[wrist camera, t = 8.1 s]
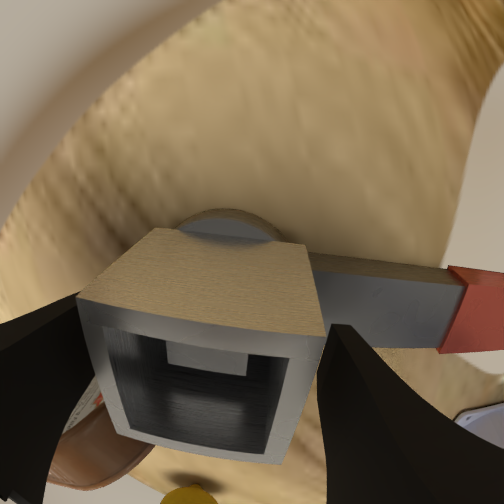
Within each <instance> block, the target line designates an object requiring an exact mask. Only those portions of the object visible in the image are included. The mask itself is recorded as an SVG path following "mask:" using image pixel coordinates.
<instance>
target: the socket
mask: <svg viewBox="0 0 504 504" xmlns="http://www.w3.org/2000/svg"><path fill="white" fill-rule="evenodd" d="M76 302H77V307H78V312H79V316H80V320H81V325H82V329H83V333H84V337H85V341H86V344H87V348H88V352H89V355H90V359H91V362H92V365H93V369H94V372H95V375H96V378H97V381H98V384H99V387H100V390H101V393H102V396H103V399H104V401H105V404H106V407H107V410H108V412H109V415H110V417H111V420H112V422H113V425H114V427H115V430H116V432H117V434H120V435H123V436H127V437H130V438H133V439H136V440H140V441H143V442H147V443H151V444H154V445H158V446H162V447H166V448H170V449H174V450H179V451H184V452H188V453H193V454H198V455H204V456H209V457H215V458H222V459H229V460H236V461H245V462H254V463H265V464H279V465H281V464H282V461H283V459H284V457H285V454H286V452H287V449H288V447H289V444H290V442H291V439H292V437H293V434H294V432H295V429H296V426H297V424H298V421H299V418H300V416H301V413H302V410H303V407H304V405H305V402H306V399H307V396H308V393H309V390H310V387H311V385H312V382H313V379H314V375H315V372H316V369H317V366H318V363H319V360H320V357H321V354H322V350H323V347H324V344H325V340H326V332H325V327H324V323H323V318H322V313H321V309H320V304H319V300H318V296H317V291H316V287H315V282H314V278H313V274H312V270H311V266H310V261H309V257H308V253H307V249H306V245H302V244H294V243H286V242H278V241H270V240H262V239H253V238H245V237H237V236H228V235H220V234H211V233H202V232H194V231H185V230H176V229H167V228H158V227H155V228H154V229H153V230H152V231H151V232H149V233H148V234H147V235H146V236H144V237H143V238H142V239H141V240H140V241H138V242H137V243H136V244H135V245H134V246H132V247H131V248H130V249H129V250H128V251H126V252H125V253H124V254H123V255H122V256H121V257H119V258H118V259H117V260H116V261H115V262H114V263H113V264H111V265H110V266H109V267H108V268H107V269H106V270H105V271H103V272H102V273H101V274H100V275H99V276H98V277H97V278H96V279H94V280H93V281H92V282H91V283H90V284H89V285H88V286H87V287H86V288H85V289H83V290H82V291H81V292H80V293H79V294H78V295H77V296H76ZM166 340H168V341H173V342H179V343H184V344H190V345H195V346H201V347H207V348H214V349H220V350H227V351H234V352H242V353H249V355H248V363H247V370H246V376H242V375H234V374H227V373H220V372H213V371H207V370H201V369H195V368H190V367H184V366H179V365H174V364H169V363H168V358H167V347H166Z"/></svg>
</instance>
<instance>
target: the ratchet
mask: <svg viewBox="0 0 504 504" xmlns="http://www.w3.org/2000/svg"><path fill="white" fill-rule="evenodd" d="M175 229H176V230H185V231H194V232H202V233H211V234H220V235H228V236H237V237H245V238H253V239H262V240H270V241H278V242H286V243H288V241H287V240H286V238H285V237H284V236H283V235H282V234H281V233H280V232H279V231H278V229H276V228H275V227H274V226H273V225H271V224H270V223H269V222H267V221H266V220H264V219H262V218H261V217H258V216H256V215H254V214H252V213H248V212H245V211H242V210H236V209H212V210H208V211H204V212H201V213H198V214H196V215H193V216H192V217H190V218H188V219H186V220H185V221H184V222H182V223H181V224H180V225H179V226H177V227H176V228H175ZM307 253H308V257H309V261H310V266H311V270H312V274H313V278H314V282H315V287H316V291H317V296H318V300H319V304H320V309H321V313H322V318H323V323H324V327H325V332H326V340H327V337H328V333H329V330H330V326H331V323H333V324H346V325H351V326H352V327H353V328H354V329H355V330H356V331H357V332H358V333H359V334H360V335H361V336H362V338H363V339H364V340H365V341H366V342H367V343H368V344H369V345H370V346H371V347H379V348H436V349H437V351H438V353H439V354H447V353H467V352H482V351H494V350H504V273H500V272H494V271H487V270H480V269H473V268H466V267H458V266H451V265H448V267H447V269H443V268H441V269H439V268H431V267H424V266H416V265H408V264H400V263H392V262H384V261H376V260H368V259H360V258H352V257H343V256H335V255H327V254H319V253H310V252H307ZM326 340H325V344H326ZM325 344H324V345H325ZM166 347H167V358H168V363H169V364H174V365H179V366H184V367H190V368H195V369H201V370H207V371H213V372H220V373H227V374H234V375H242V376H246V370H247V363H248V355H249V353H242V352H234V351H227V350H220V349H214V348H207V347H201V346H195V345H190V344H184V343H179V342H173V341H168V340H166Z"/></svg>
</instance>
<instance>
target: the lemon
mask: <svg viewBox="0 0 504 504" xmlns="http://www.w3.org/2000/svg"><path fill="white" fill-rule="evenodd" d="M160 504H218V503H217V501H216V500H215V499H214V498H213V497H212V496H211V495H210V494H209V493H207V492H205V491H204V490H203V489H202V488H201V487H200V485H197V484H193V485H191V486H189V487H182V488H177V489H175V490H173V491H171V492H169V493H168V494H167V495H166V496H165V497H164V498H163V500H162V501H161V503H160Z"/></svg>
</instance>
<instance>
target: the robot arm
mask: <svg viewBox="0 0 504 504" xmlns="http://www.w3.org/2000/svg"><path fill="white" fill-rule="evenodd" d="M80 292H81V291H80ZM80 292H77V293H75V294H72V295H70V296H67V297H65V298H63V299H60V300H58V301H56V302H53V303H51V304H49V305H47V306H44V307H42V308H40V309H37V310H35V311H33V312H30V313H28V314H25V315H23V316H20V317H18V318H15V319H13V320H10V321H8V322H5V323H2V324H0V498H1V499H2V500H3V501H7V499H8V498H10V499H11V500H12V501H14V502H15V503H17V504H42V503H43V497H44V491H45V486H46V481H47V478H48V474H49V470H50V466H51V463H52V460H53V457H54V454H55V451H56V448H57V445H58V442H59V440H60V437H61V435H62V433H63V430H64V428H65V426H66V423H67V421H68V419H69V417H70V415H71V413H72V412H73V410H74V408H75V407H76V405H77V403H78V402H79V400H80V399H81V397H82V395H83V394H84V392H85V391H86V389H87V388H88V386H89V384H90V383H91V381H92V380H93V378H94V377H95V372H94V369H93V365H92V362H91V359H90V355H89V352H88V348H87V344H86V341H85V337H84V333H83V329H82V325H81V320H80V316H79V312H78V307H77V302H76V296H77V295H78V294H79V293H80ZM317 401H318V408H319V415H320V422H321V428H322V435H323V442H324V449H325V456H326V467H327V504H504V403H501V404H497V405H493V406H489V407H485V408H480V409H476V410H471V411H466V412H463V413H461V414H460V415H459V416H458V417H457V419H456V420H455V421H452V420H451V419H449V418H448V417H446V416H445V415H443V414H442V413H441V412H439V411H438V410H437V409H435V408H434V407H433V406H432V405H430V404H429V403H428V402H427V401H425V400H424V399H423V398H422V397H421V396H419V395H418V394H417V393H416V392H415V391H414V390H413V389H412V388H410V387H409V386H408V385H407V384H406V383H405V382H404V381H403V380H402V379H401V378H400V377H399V376H398V375H397V374H396V373H395V372H394V371H393V370H392V369H391V368H390V367H389V366H388V365H387V364H386V363H385V362H384V361H383V360H382V358H381V357H380V356H379V355H378V354H377V353H376V352H375V351H374V350H373V349H372V348H371V346H370V345H369V344H368V343H367V342H366V341H365V340H364V339H363V338H362V336H361V335H360V334H359V333H358V332H357V331H356V330H355V329H354V328H353V327H352V326H351V325H346V324H333V323H331V326H330V330H329V333H328V337H327V340H326V344H325V347H324V350H323V354H322V357H321V360H320V363H319V367H318V370H317Z"/></svg>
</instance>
